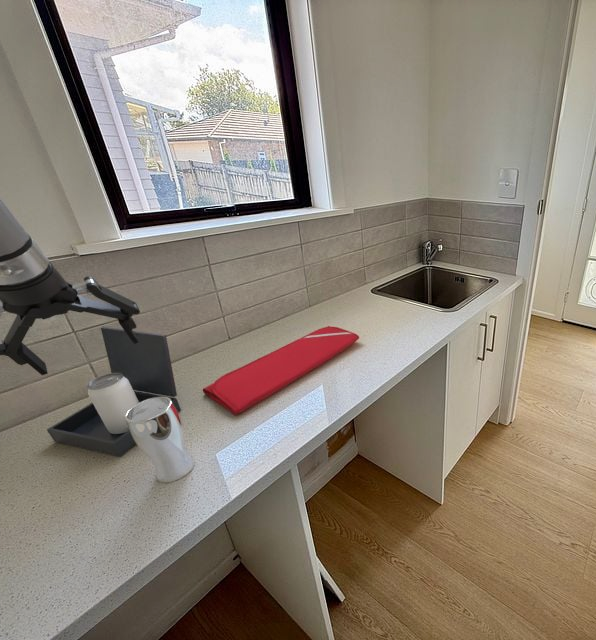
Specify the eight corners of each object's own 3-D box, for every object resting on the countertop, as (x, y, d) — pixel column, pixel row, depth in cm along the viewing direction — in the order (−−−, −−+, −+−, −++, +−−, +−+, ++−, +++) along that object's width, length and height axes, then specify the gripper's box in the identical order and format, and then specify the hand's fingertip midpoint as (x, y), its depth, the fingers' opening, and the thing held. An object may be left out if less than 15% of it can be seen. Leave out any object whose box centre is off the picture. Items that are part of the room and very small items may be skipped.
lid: (162, 336, 73) (166, 335, 74) (100, 327, 76) (104, 326, 77) (174, 397, 77) (177, 395, 78) (114, 386, 80) (118, 385, 81)
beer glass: (160, 460, 66) (131, 400, 60) (201, 450, 68) (177, 392, 62) (148, 489, 60) (115, 427, 54) (193, 478, 63) (166, 416, 56)
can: (151, 421, 75) (131, 377, 70) (115, 439, 70) (90, 394, 65) (139, 410, 78) (118, 368, 73) (103, 427, 73) (79, 383, 68)
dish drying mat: (202, 393, 85) (198, 381, 83) (327, 331, 115) (326, 321, 114) (236, 418, 77) (232, 405, 75) (361, 344, 108) (360, 334, 106)
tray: (120, 457, 67) (113, 443, 65) (54, 442, 70) (46, 429, 69) (181, 410, 79) (176, 398, 78) (123, 399, 83) (117, 387, 81)
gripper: (-123, 319, 41) (1, 400, 57) (127, 261, 55) (172, 339, 70) (-122, 281, 44) (-4, 368, 60) (115, 236, 58) (161, 316, 73)
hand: (91, 353), depth 65 cm, fingers open, 13 cm apart
